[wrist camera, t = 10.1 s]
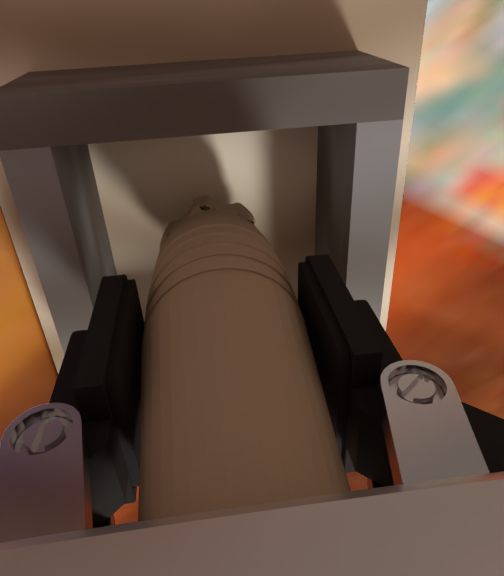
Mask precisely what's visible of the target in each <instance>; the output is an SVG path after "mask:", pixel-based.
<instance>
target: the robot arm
mask: <svg viewBox="0 0 504 576" xmlns="http://www.w3.org/2000/svg"><path fill="white" fill-rule="evenodd" d="M298 303H299V306H300V309H301V312H302V315H303V317H304V320H305V324H306V328H307V331H308V335H309V339H310V343H311V346H312V350H313V354H314V358H315V362H316V365H317V369H318V373H319V377H320V380H321V384H322V388H323V392H324V396H325V399H326V403H327V407H328V411H329V414H330V418H331V422H332V426H333V430H334V433H335V437H336V441H337V444H338V448H339V451H340V455H341V458H342V462H343V466H344V469H345V473H349V472H356V471H357V472H358V473H360V474H362V475H364V476H366V477H367V478H368V481H367V484H368V489H364V490H357V491H349V492H342V493H335V494H328V495H320V496H313V497H306V498H299V499H292V500H285V501H278V502H271V503H264V504H257V505H250V506H243V507H236V508H229V509H222V510H215V511H208V512H201V513H194V514H187V515H180V516H173V517H166V518H159V519H153V520H146V521H139V522H132V523H126V524H119V525H115V519H114V516H113V514H114V513H115V512H116V511H117V510H118V509H119V508H120V507H121V506H122V505H123V504H126V503H133V502H135V501H136V490H137V486H139V473H140V415H141V349H142V337H143V330H144V319H143V314H142V309H141V304H140V299H139V294H138V290H137V285H136V281H135V279H130V280H128V279H127V276H126V275H125V274H123V275H113V276H103V277H102V279H101V283H100V286H99V290H98V294H97V297H96V301H95V304H94V308H93V312H92V315H91V319H90V323H89V326H88V330H79V331H74V332H72V334H71V336H70V339H69V343H68V346H67V349H66V352H65V355H64V358H63V361H62V365H61V368H60V371H59V374H58V377H57V380H56V383H55V387H54V390H53V393H52V396H51V399H50V402H49V403H48V404H43V405H40V406H37V407H34V408H31V409H30V410H28V411H26V412H24V413H23V414H21V415H20V416H18V417H17V418H16V419H15V420H14V421H12V422H11V423H10V425H9V426H8V427H7V429H6V430H5V432H4V434H3V437H2V440H1V444H0V576H504V419H502V418H499V417H497V416H494V415H492V414H490V413H487V412H485V411H482V410H480V409H478V408H475V407H473V406H470V405H468V404H465V403H463V402H461V400H460V398H459V395H458V393H457V391H456V388H455V386H454V383H453V382H452V380H451V379H450V377H449V376H448V375H447V374H446V373H444V372H443V371H442V370H441V369H439V368H437V367H435V366H433V365H431V364H428V363H425V362H422V361H414V360H404V361H403V360H402V358H401V357H400V355H399V353H398V352H397V350H396V348H395V347H394V345H393V343H392V342H391V340H390V338H389V336H388V335H387V333H386V331H385V330H384V328H383V326H382V325H381V323H380V321H379V320H378V318H377V316H376V315H375V313H374V311H373V310H372V308H371V306H370V305H369V303H368V302H367V301H366V300H364V299H363V300H354V299H353V298H352V296H351V294H350V292H349V290H348V288H347V287H346V285H345V283H344V281H343V279H342V278H341V276H340V274H339V272H338V270H337V269H336V267H335V265H334V263H333V261H332V260H331V258H330V256H329V255H328V254H322V255H312V256H306V258H305V262H299V263H298Z"/></svg>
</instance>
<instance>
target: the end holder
mask: <svg viewBox="0 0 504 576" xmlns="http://www.w3.org/2000/svg"><path fill="white" fill-rule="evenodd" d="M427 1H428V0H0V206H1V209H2V212H3V215H4V218H5V221H6V223H7V226H8V229H9V232H10V235H11V238H12V241H13V244H14V247H15V250H16V253H17V255H18V258H19V261H20V264H21V267H22V270H23V273H24V276H25V279H26V282H27V285H28V287H29V290H30V293H31V296H32V299H33V302H34V305H35V308H36V311H37V314H38V317H39V319H40V322H41V325H42V328H43V331H44V334H45V337H46V340H47V343H48V346H49V349H50V351H51V354H52V357H53V360H54V363H55V366H56V369H57V372H58V374H59V371H60V368H61V365H62V361H63V358H64V355H65V352H66V349H67V346H68V343H69V339H70V336H71V334H72V332H74V331H79V330H88V326H89V323H90V319H91V315H92V312H93V308H94V304H95V301H96V297H97V294H98V290H99V286H100V283H101V279H102V277H103V276H113V275H123V274H125V275H126V276H127V279H128V280H130V279H135V281H136V285H137V290H138V294H139V299H140V304H141V309H142V314H143V319H144V322H145V315H146V307H147V300H148V294H149V290H150V285H151V280H152V276H153V272H154V268H155V265H156V262H157V258H158V255H159V252H160V243H161V239H162V236H163V233H164V231H165V229H166V227H167V225H168V224H169V223H170V222H174V221H177V220H178V219H180V218H181V217H182V216H183V215H184V214H185V213H186V212H187V211H188V210H189V209H190V207H191V205H192V203H193V200H194V199H195V198H198V197H201V196H209V197H210V198H211V199H212V200H214V201H216V202H220V203H223V204H234V203H237V202H238V203H241V204H242V205H244V206H245V207H246V208H247V209H248V210H249V211H250V212H251V213H252V215H253V217H254V218H255V227H256V228H257V229H258V230H259V231H260V232H261V233H262V234H263V235H264V237H265V238H266V239H267V241H268V242H269V243H270V245H271V246H272V248H273V250H274V251H275V253H276V255H277V257H278V259H279V260H280V262H281V265H282V266H283V268H284V270H285V272H286V274H287V277H288V279H289V281H290V283H291V285H292V288H293V290H294V293H295V296H296V299H297V301H298V263H299V262H305V258H306V256H312V255H322V254H328V255H329V256H330V258H331V260H332V261H333V263H334V265H335V267H336V269H337V270H338V272H339V274H340V276H341V278H342V279H343V281H344V283H345V285H346V287H347V288H348V290H349V292H350V294H351V296H352V298H353V299H354V300H363V299H364V300H366V301H367V302H368V303H369V305H370V306H371V308H372V310H373V311H374V313H375V315H376V316H377V318H378V320H379V321H380V323H381V325H382V326H383V328H384V330H385V331H386V325H387V317H388V309H389V301H390V293H391V285H392V278H393V270H394V262H395V254H396V246H397V238H398V230H399V222H400V214H401V207H402V199H403V191H404V183H405V175H406V167H407V159H408V151H409V143H410V136H411V128H412V120H413V112H414V104H415V96H416V88H417V80H418V72H419V65H420V57H421V49H422V41H423V33H424V25H425V17H426V9H427Z"/></svg>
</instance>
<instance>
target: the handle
mask: <svg viewBox="0 0 504 576" xmlns="http://www.w3.org/2000/svg"><path fill="white" fill-rule="evenodd" d="M349 491H350V487H349V484H348V480H347V476H346V473H345V469H344V466H343V462H342V458H341V455H340V451H339V448H338V444H337V441H336V437H335V433H334V430H333V426H332V422H331V418H330V414H329V411H328V407H327V403H326V399H325V396H324V392H323V388H322V384H321V380H320V377H319V373H318V369H317V365H316V362H315V358H314V354H313V350H312V346H311V343H310V339H309V335H308V331H307V328H306V324H305V320H304V317H303V315H302V312H301V309H300V306H299V303H298V301H297V299H296V296H295V293H294V290H293V288H292V285H291V283H290V281H289V279H288V277H287V274H286V272H285V270H284V268H283V266H282V265H281V262H280V260H279V259H278V257H277V255H276V253H275V251H274V250H273V248H272V246H271V245H270V243H269V242H268V241H267V239H266V238H265V237H264V235H263V234H262V233H261V232H260V231H259V230H258V229H257V228H256V227H255V218H254V217H253V215H252V213H251V212H250V211H249V210H248V209H247V208H246V207H245V206H244V205H242V204H241V203H238V202H237V203H234V204H223V203H220V202H216V201H214V200H212V199H211V198H210V197H209V196H201V197H198V198H195V199H194V200H193V203H192V205H191V207H190V209H189V210H188V211H187V212H186V213H185V214H184V215H183V216H182V217H181V218H180V219H178V220H177V221H174V222H170V223H169V224H168V225H167V227H166V229H165V231H164V233H163V236H162V239H161V243H160V252H159V255H158V258H157V262H156V265H155V268H154V272H153V276H152V280H151V285H150V290H149V294H148V300H147V307H146V315H145V322H144V330H143V337H142V349H141V415H140V473H139V511H138V522H139V521H146V520H153V519H159V518H166V517H173V516H180V515H187V514H194V513H201V512H208V511H215V510H222V509H229V508H236V507H243V506H250V505H257V504H264V503H271V502H278V501H285V500H292V499H299V498H306V497H313V496H320V495H328V494H335V493H342V492H349Z"/></svg>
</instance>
